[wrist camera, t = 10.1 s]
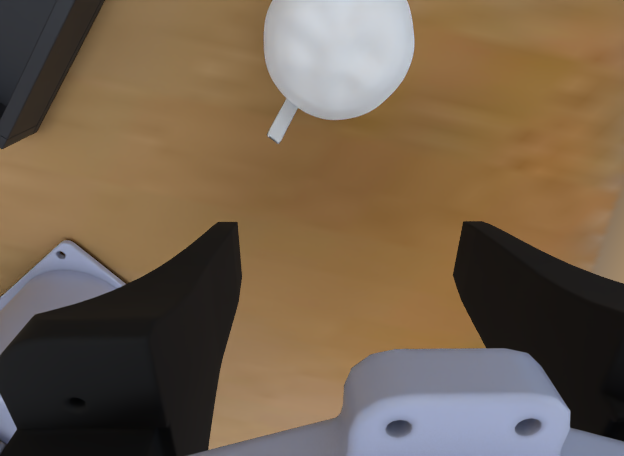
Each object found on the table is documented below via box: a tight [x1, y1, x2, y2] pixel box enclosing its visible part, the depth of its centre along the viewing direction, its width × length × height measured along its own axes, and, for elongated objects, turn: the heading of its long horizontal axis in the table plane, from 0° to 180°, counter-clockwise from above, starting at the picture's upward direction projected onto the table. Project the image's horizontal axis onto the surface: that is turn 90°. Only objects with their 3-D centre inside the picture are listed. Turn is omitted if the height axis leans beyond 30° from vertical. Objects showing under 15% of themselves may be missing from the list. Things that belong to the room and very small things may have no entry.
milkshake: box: [264, 0, 414, 144], centre depth 16 cm, size 5×5×10 cm
